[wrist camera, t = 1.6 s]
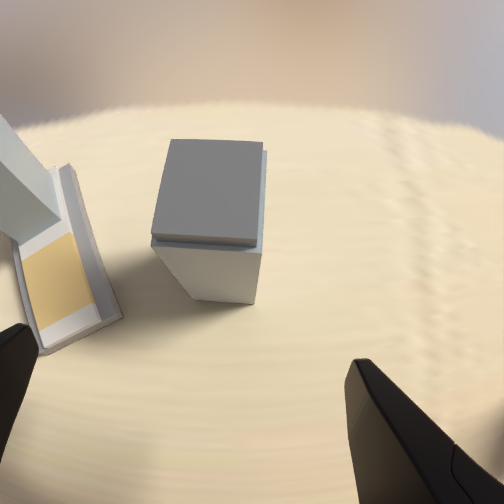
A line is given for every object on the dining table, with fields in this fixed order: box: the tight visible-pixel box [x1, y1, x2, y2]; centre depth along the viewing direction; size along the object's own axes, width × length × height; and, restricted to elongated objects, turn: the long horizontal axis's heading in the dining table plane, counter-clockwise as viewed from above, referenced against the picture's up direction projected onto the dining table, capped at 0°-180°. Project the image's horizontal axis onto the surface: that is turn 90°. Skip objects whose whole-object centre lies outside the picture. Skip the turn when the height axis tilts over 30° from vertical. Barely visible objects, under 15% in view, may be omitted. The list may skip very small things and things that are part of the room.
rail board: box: [11, 164, 123, 355], centre depth 21 cm, size 14×7×2 cm, turn 28°
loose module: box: [151, 139, 267, 304], centre depth 16 cm, size 4×4×11 cm
